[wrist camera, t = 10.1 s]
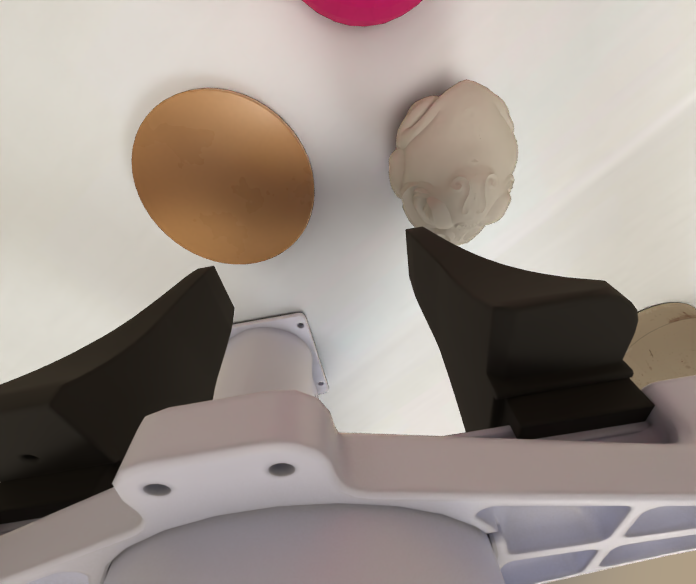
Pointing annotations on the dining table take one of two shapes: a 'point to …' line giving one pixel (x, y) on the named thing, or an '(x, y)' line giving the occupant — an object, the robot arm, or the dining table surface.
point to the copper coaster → (223, 176)
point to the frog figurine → (455, 161)
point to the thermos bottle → (663, 344)
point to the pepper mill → (362, 10)
